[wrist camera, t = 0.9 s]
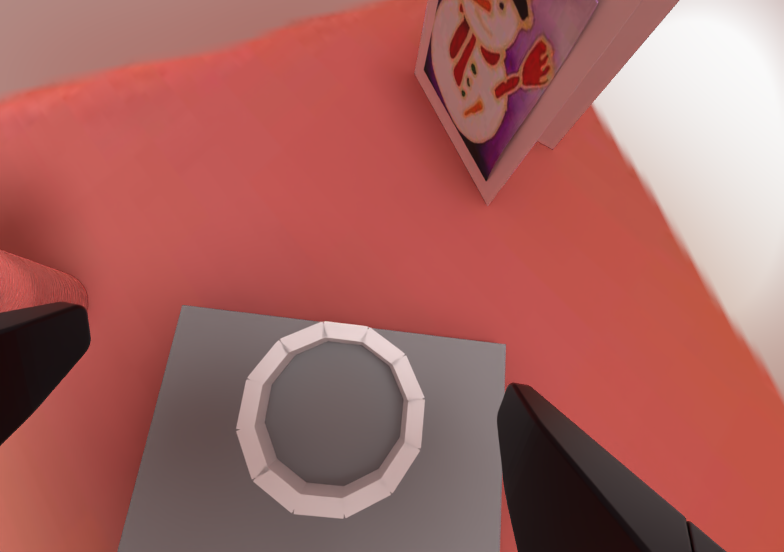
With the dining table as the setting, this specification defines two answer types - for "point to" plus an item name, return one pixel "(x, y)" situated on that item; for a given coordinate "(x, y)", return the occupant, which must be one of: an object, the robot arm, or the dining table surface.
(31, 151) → the dining table surface
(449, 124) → the greeting card
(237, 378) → the duct flange
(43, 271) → the chrome ball-end rod
